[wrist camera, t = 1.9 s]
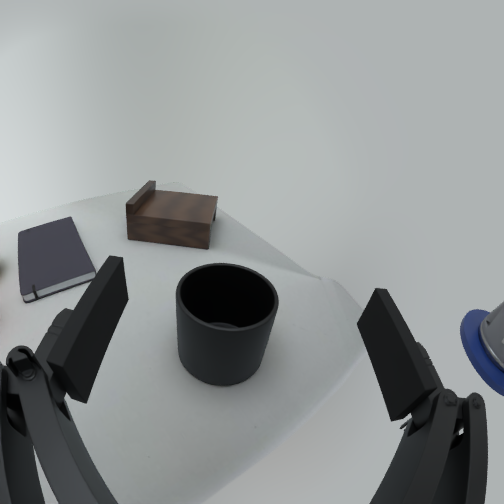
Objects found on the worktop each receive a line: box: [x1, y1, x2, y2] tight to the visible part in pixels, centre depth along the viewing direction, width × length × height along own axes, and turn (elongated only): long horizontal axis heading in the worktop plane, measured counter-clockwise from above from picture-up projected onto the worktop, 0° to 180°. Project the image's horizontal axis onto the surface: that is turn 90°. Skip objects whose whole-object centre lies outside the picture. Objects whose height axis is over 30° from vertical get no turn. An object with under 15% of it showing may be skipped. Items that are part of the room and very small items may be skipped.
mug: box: [176, 263, 279, 385], centre depth 28 cm, size 9×12×9 cm
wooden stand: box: [126, 181, 218, 249], centre depth 50 cm, size 15×13×7 cm
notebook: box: [18, 217, 96, 303], centre depth 37 cm, size 13×2×21 cm
